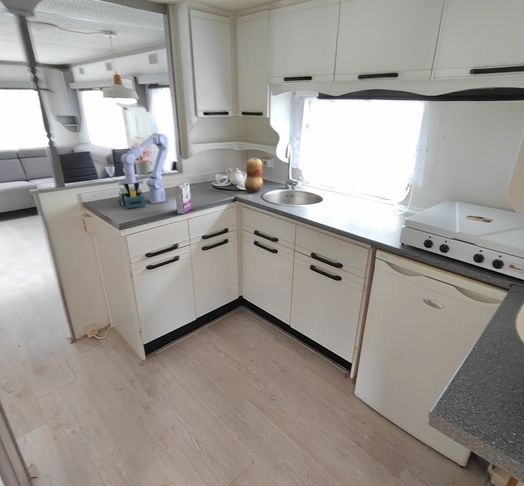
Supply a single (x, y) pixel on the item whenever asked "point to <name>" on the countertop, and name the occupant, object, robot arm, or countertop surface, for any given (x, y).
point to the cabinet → (124, 191)
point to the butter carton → (132, 193)
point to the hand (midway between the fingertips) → (132, 195)
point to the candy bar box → (183, 198)
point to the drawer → (133, 201)
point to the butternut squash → (254, 175)
